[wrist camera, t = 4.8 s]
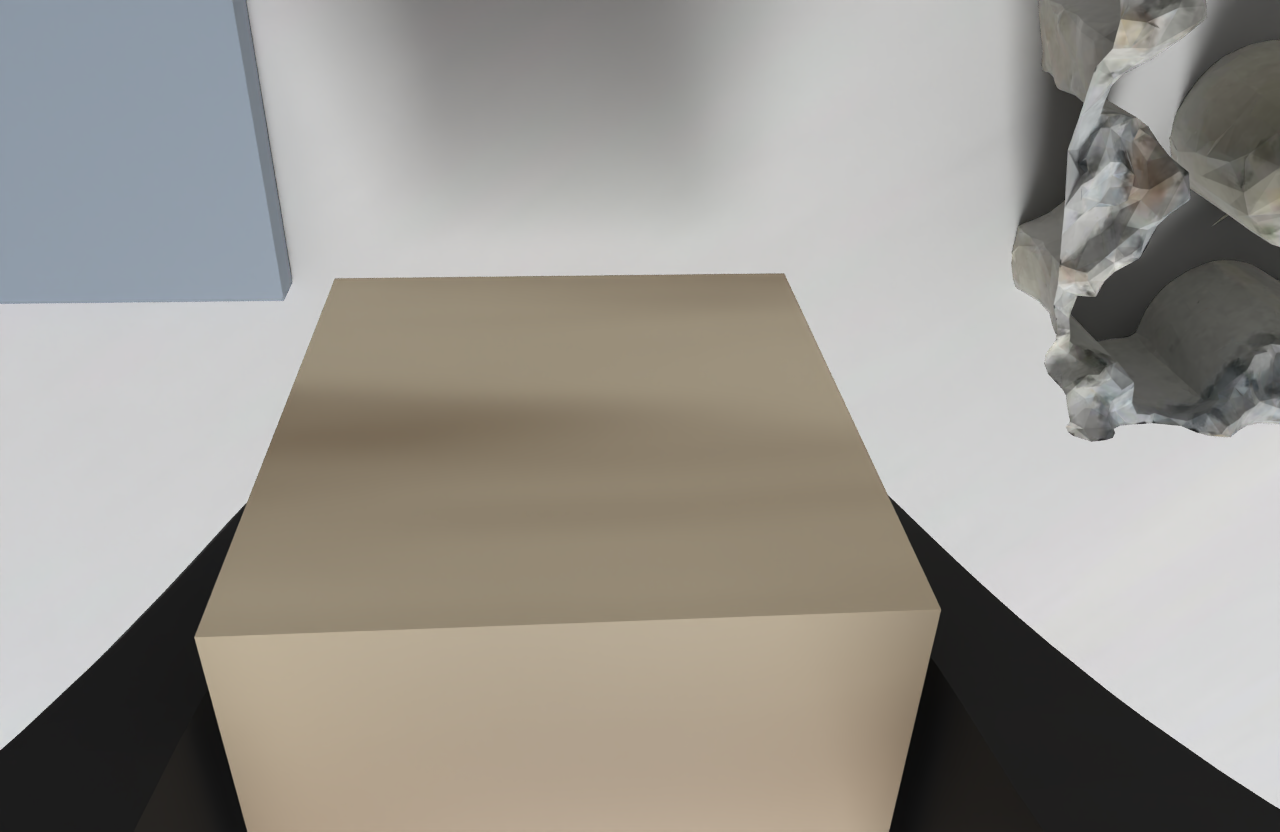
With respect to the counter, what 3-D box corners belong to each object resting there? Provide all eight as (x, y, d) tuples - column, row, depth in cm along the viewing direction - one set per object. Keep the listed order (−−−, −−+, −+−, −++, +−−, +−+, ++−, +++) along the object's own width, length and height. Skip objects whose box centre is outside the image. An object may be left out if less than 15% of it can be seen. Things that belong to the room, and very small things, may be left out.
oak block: (748, 604, 13) (847, 1006, 9) (383, 617, 13) (306, 1043, 9) (783, 274, 11) (941, 609, 7) (335, 278, 10) (194, 637, 6)
